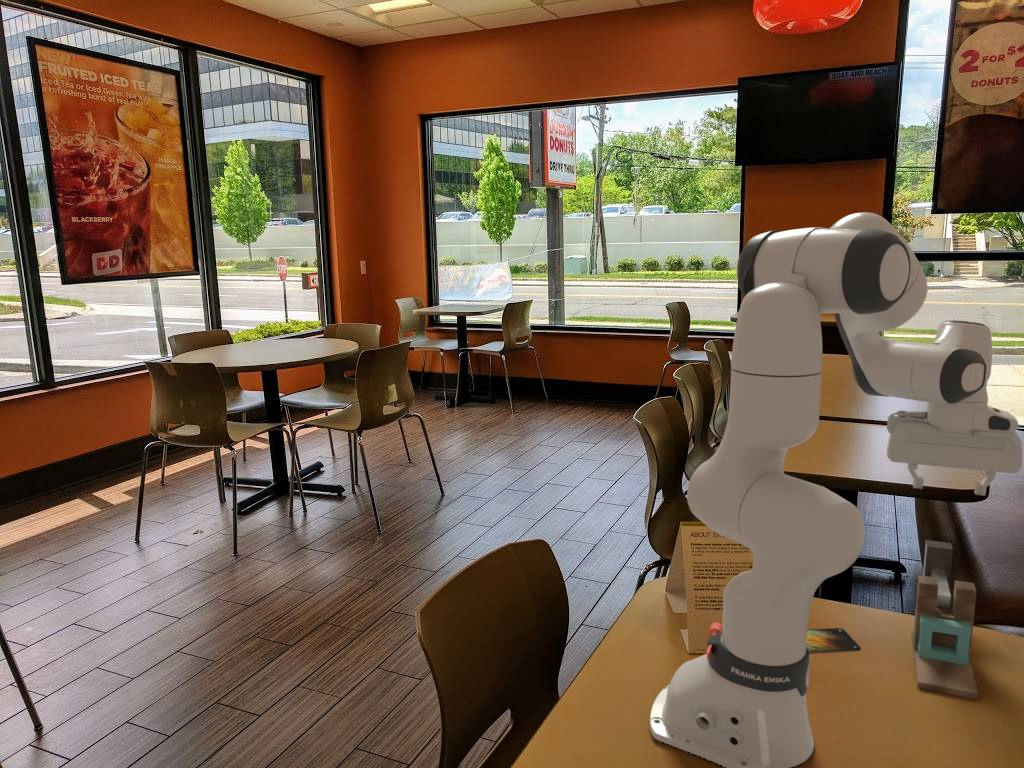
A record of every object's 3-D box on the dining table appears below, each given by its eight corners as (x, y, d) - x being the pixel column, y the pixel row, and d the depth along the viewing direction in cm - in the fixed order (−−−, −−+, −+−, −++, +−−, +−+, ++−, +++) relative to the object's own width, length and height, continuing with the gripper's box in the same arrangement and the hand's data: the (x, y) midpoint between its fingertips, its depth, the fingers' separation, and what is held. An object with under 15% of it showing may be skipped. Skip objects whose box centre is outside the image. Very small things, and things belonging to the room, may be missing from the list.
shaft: (929, 610, 124) (932, 571, 122) (922, 575, 136) (925, 540, 135) (956, 614, 122) (960, 575, 121) (947, 579, 134) (951, 543, 133)
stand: (917, 687, 114) (924, 610, 112) (911, 637, 128) (917, 567, 126) (977, 699, 111) (985, 620, 108) (964, 646, 125) (971, 575, 123)
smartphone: (862, 649, 125) (776, 653, 124) (862, 652, 125) (776, 656, 124) (842, 627, 132) (760, 631, 131) (842, 631, 132) (760, 634, 131)
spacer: (918, 656, 121) (921, 620, 120) (917, 650, 123) (920, 614, 121) (967, 665, 118) (971, 629, 117) (966, 659, 120) (969, 623, 118)
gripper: (889, 413, 128) (882, 489, 130) (1029, 423, 119) (1020, 504, 122) (887, 406, 134) (881, 478, 136) (1021, 415, 125) (1012, 492, 128)
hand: (948, 490), depth 129 cm, fingers open, 8 cm apart
